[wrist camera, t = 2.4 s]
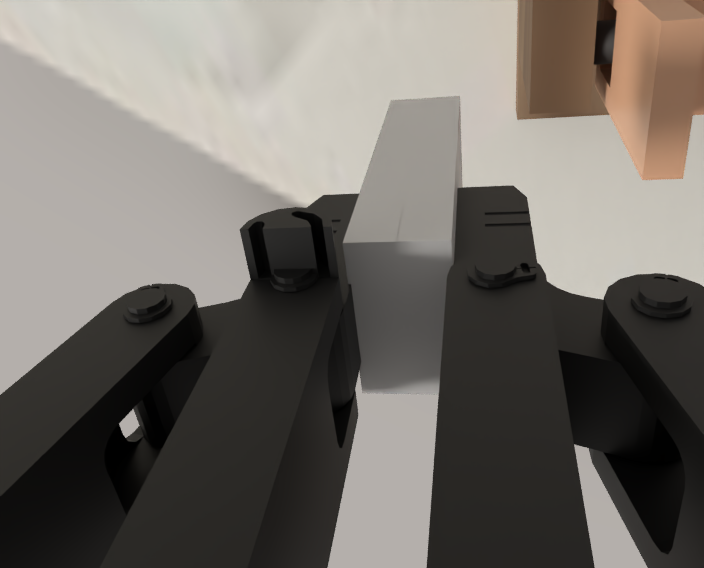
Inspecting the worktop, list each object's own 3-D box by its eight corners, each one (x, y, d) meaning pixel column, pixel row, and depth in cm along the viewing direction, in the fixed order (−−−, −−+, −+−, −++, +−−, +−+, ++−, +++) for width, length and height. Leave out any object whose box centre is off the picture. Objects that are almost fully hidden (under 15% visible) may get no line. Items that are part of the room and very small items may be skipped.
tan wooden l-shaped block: (745, -45, 22) (879, 3, 15) (724, 76, 24) (832, 173, 17) (603, -31, 23) (661, 21, 16) (594, 85, 25) (642, 180, 18)
